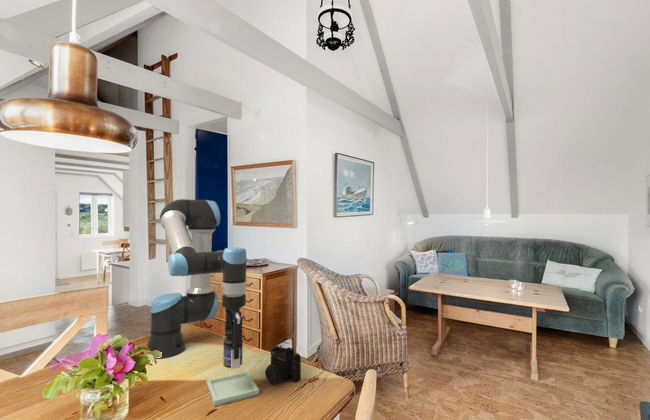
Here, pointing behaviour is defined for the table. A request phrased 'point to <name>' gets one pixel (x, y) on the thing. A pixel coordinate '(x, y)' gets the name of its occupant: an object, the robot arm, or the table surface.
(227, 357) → the pill bottle
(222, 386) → the tray
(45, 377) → the table surface
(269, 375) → the camera
